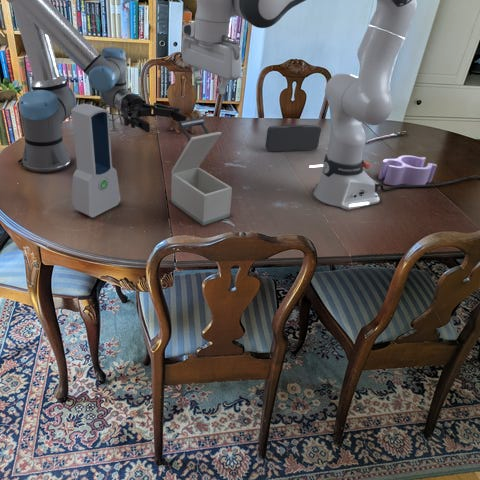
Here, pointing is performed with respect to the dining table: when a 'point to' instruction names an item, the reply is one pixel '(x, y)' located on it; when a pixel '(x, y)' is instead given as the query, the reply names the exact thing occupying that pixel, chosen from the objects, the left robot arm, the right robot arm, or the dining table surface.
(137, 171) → the dining table surface
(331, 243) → the dining table surface
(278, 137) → the handheld gaming console
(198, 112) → the lion figurine
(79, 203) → the electronic device
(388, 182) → the clip
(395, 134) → the sword
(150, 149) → the dining table surface
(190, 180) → the chest
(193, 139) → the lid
